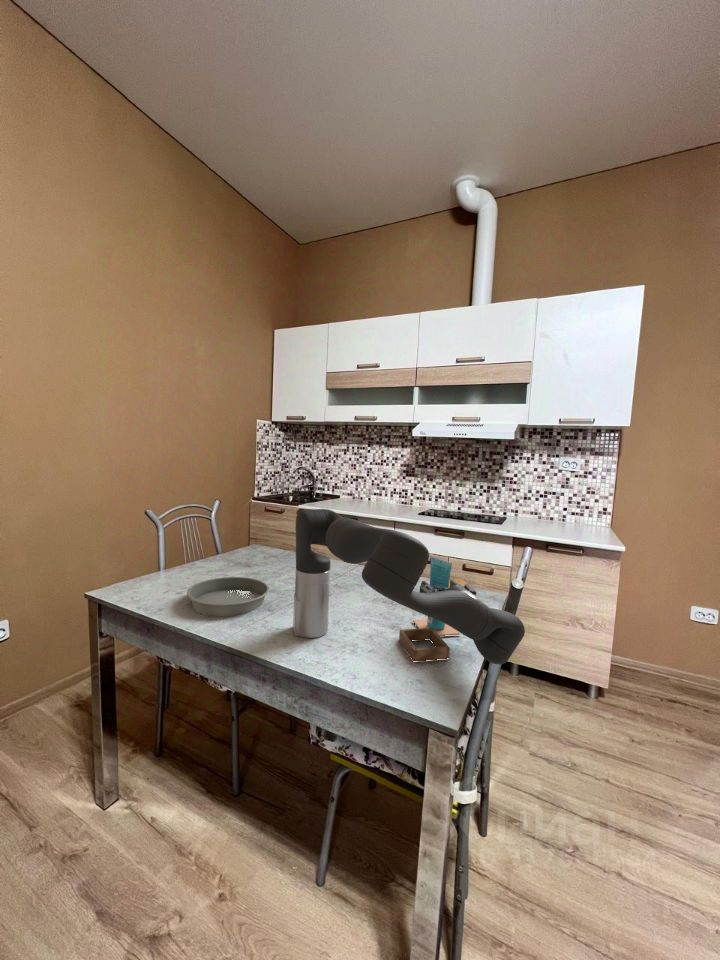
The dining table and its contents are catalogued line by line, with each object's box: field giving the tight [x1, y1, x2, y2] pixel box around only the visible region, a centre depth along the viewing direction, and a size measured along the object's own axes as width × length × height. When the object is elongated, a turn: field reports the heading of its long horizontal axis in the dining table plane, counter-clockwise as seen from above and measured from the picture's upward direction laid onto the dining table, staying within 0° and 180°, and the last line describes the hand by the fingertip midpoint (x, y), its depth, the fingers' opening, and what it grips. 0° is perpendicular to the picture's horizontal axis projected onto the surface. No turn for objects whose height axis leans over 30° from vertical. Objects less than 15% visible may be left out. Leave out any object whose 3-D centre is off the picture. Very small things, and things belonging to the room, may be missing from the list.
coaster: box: [412, 618, 461, 636], centre depth 116 cm, size 10×10×1 cm
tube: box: [427, 556, 453, 630], centre depth 115 cm, size 7×5×19 cm, turn 45°
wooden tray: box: [398, 628, 451, 662], centre depth 103 cm, size 9×11×3 cm
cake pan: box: [186, 576, 270, 617], centre depth 128 cm, size 25×25×4 cm
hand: (436, 583), depth 116 cm, fingers open, 8 cm apart
